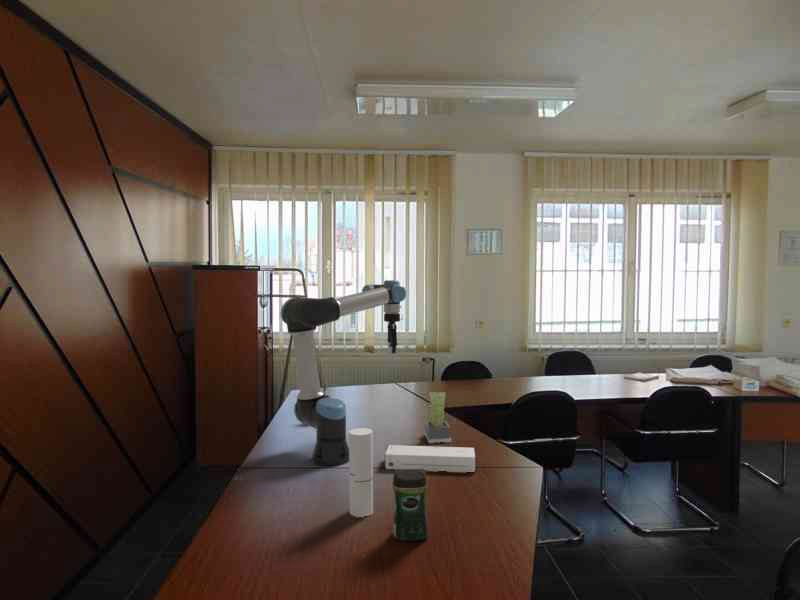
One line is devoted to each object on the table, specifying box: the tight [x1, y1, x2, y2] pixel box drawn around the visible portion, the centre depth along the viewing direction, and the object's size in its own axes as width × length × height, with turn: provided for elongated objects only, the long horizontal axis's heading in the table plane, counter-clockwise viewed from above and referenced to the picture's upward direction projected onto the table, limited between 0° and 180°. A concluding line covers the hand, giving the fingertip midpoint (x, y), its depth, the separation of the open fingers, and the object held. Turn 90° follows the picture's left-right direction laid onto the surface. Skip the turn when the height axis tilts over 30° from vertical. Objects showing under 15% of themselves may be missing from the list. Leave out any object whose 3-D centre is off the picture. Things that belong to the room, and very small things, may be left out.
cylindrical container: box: [348, 427, 374, 518], centre depth 155 cm, size 7×7×25 cm
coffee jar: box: [392, 469, 429, 542], centre depth 141 cm, size 10×8×19 cm
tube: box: [428, 391, 446, 427], centre depth 228 cm, size 6×5×20 cm
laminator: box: [384, 444, 477, 473], centre depth 194 cm, size 34×12×6 cm, turn 84°
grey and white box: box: [424, 420, 452, 444], centre depth 228 cm, size 12×10×6 cm
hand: (392, 358), depth 239 cm, fingers open, 13 cm apart
